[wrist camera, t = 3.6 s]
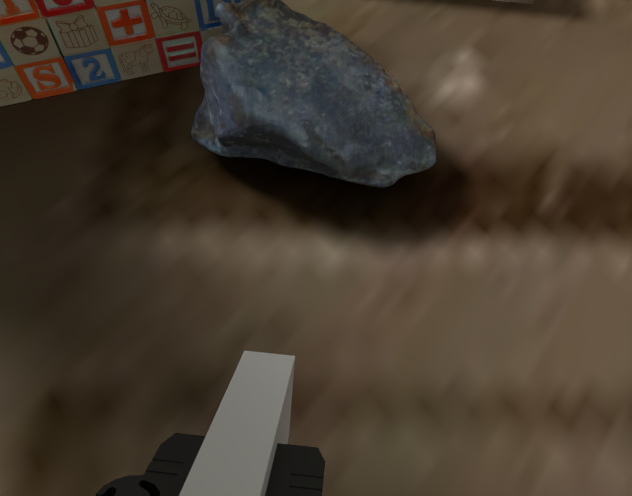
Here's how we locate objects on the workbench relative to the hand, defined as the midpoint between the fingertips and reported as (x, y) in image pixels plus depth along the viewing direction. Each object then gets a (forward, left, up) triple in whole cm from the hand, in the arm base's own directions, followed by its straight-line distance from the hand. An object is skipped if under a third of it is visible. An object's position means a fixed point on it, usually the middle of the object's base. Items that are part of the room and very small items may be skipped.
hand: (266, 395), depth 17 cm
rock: (-1, +20, -13) cm, 24 cm away
